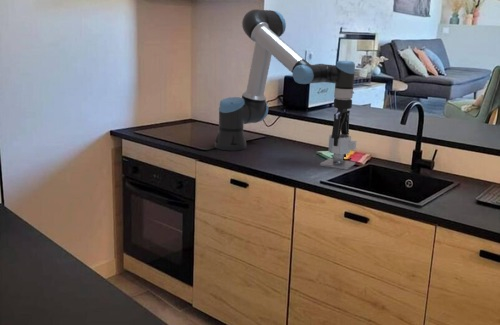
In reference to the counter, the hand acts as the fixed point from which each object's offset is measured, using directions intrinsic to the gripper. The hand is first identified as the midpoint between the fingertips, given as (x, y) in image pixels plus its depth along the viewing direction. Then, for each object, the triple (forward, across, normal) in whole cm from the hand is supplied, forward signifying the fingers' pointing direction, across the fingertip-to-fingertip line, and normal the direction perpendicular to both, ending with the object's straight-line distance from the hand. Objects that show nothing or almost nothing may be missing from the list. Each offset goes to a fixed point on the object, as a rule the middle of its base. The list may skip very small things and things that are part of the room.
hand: (339, 151), depth 224 cm
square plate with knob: (+6, 0, 0) cm, 6 cm away
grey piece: (0, 0, -1) cm, 1 cm away
